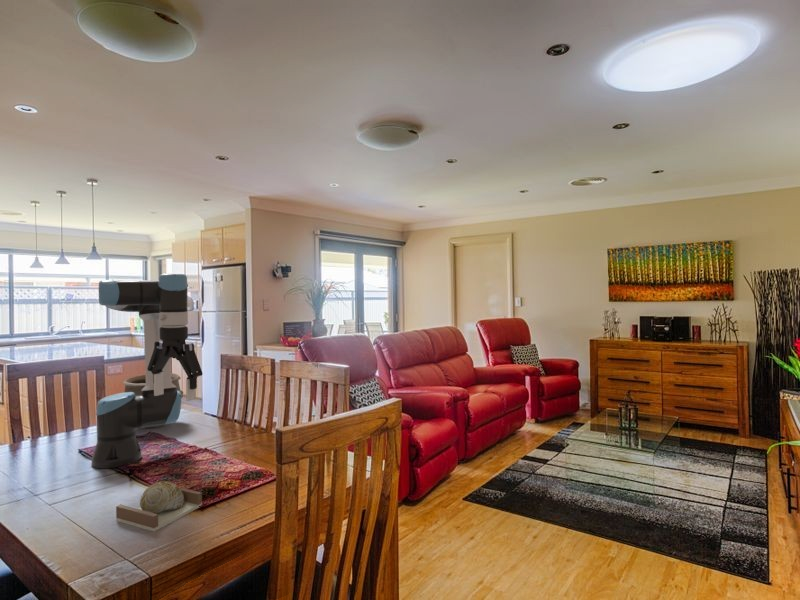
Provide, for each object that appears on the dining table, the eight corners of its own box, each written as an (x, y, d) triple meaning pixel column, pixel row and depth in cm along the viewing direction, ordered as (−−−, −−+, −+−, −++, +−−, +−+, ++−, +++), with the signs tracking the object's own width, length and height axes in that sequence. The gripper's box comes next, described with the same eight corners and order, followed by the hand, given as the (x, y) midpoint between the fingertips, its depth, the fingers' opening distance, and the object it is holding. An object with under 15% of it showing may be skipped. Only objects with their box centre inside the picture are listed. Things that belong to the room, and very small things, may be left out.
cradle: (116, 520, 121) (116, 506, 121) (166, 497, 135) (165, 484, 135) (154, 531, 115) (153, 516, 115) (201, 505, 129) (201, 492, 129)
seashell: (189, 494, 133) (185, 469, 128) (178, 525, 124) (174, 499, 120) (151, 495, 131) (146, 470, 127) (138, 526, 123) (132, 500, 118)
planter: (195, 422, 214) (195, 374, 214) (148, 436, 193) (148, 383, 192) (157, 416, 225) (157, 371, 224) (109, 429, 203) (108, 379, 203)
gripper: (133, 325, 139) (134, 395, 140) (193, 329, 128) (194, 405, 129) (156, 323, 145) (157, 390, 146) (215, 327, 135) (215, 399, 136)
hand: (174, 397), depth 138 cm, fingers open, 13 cm apart
